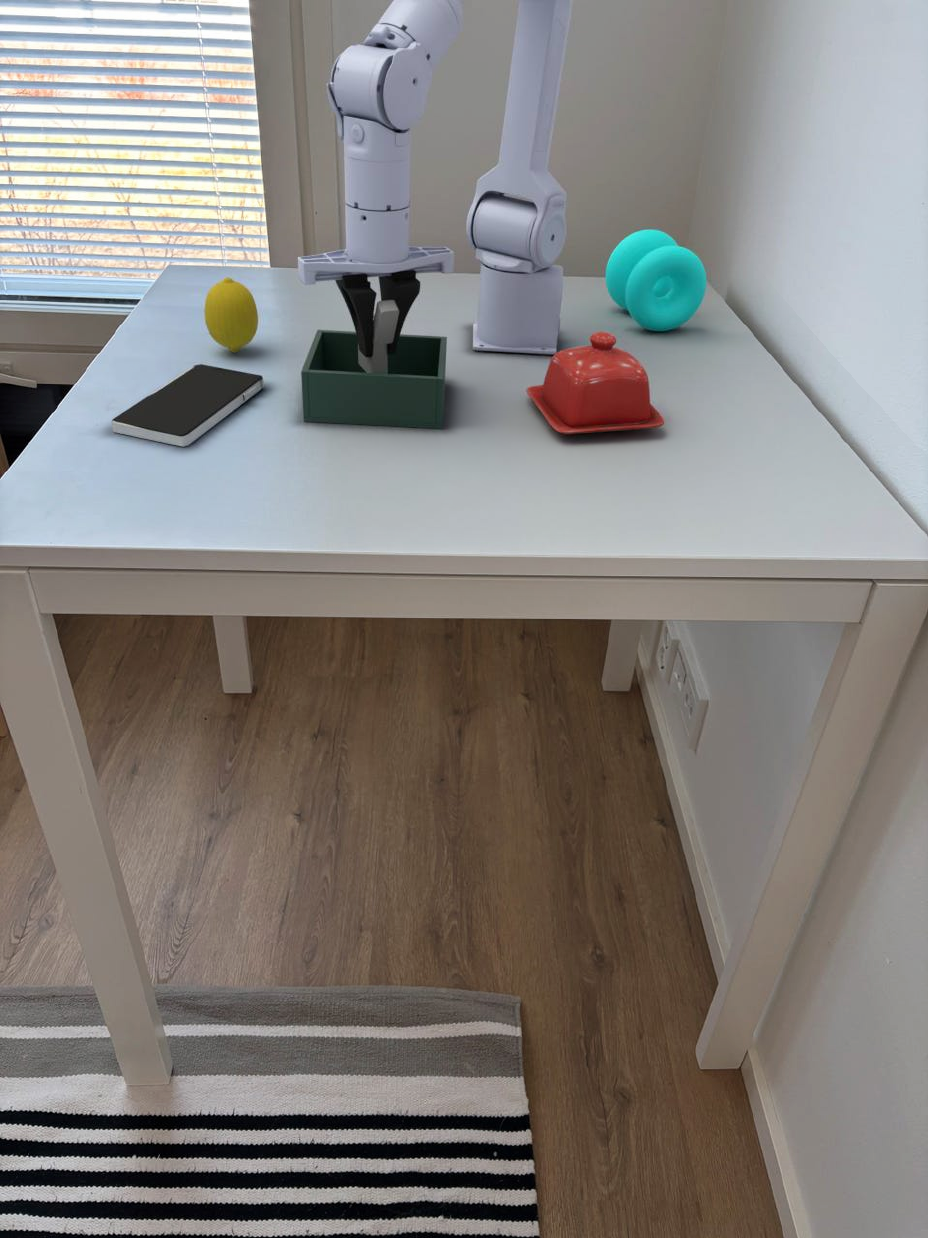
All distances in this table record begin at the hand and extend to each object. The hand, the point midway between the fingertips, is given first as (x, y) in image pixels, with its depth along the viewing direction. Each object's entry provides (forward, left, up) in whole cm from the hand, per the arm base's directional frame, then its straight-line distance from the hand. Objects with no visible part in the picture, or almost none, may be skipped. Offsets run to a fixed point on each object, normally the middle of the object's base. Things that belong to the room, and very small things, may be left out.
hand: (377, 352), depth 93 cm
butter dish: (-22, +1, -5) cm, 22 cm away
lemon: (+16, -11, -5) cm, 21 cm away
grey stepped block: (0, 0, -2) cm, 2 cm away
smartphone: (+17, +4, -5) cm, 19 cm away
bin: (0, 0, -5) cm, 5 cm away
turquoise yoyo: (-32, -29, -5) cm, 43 cm away
